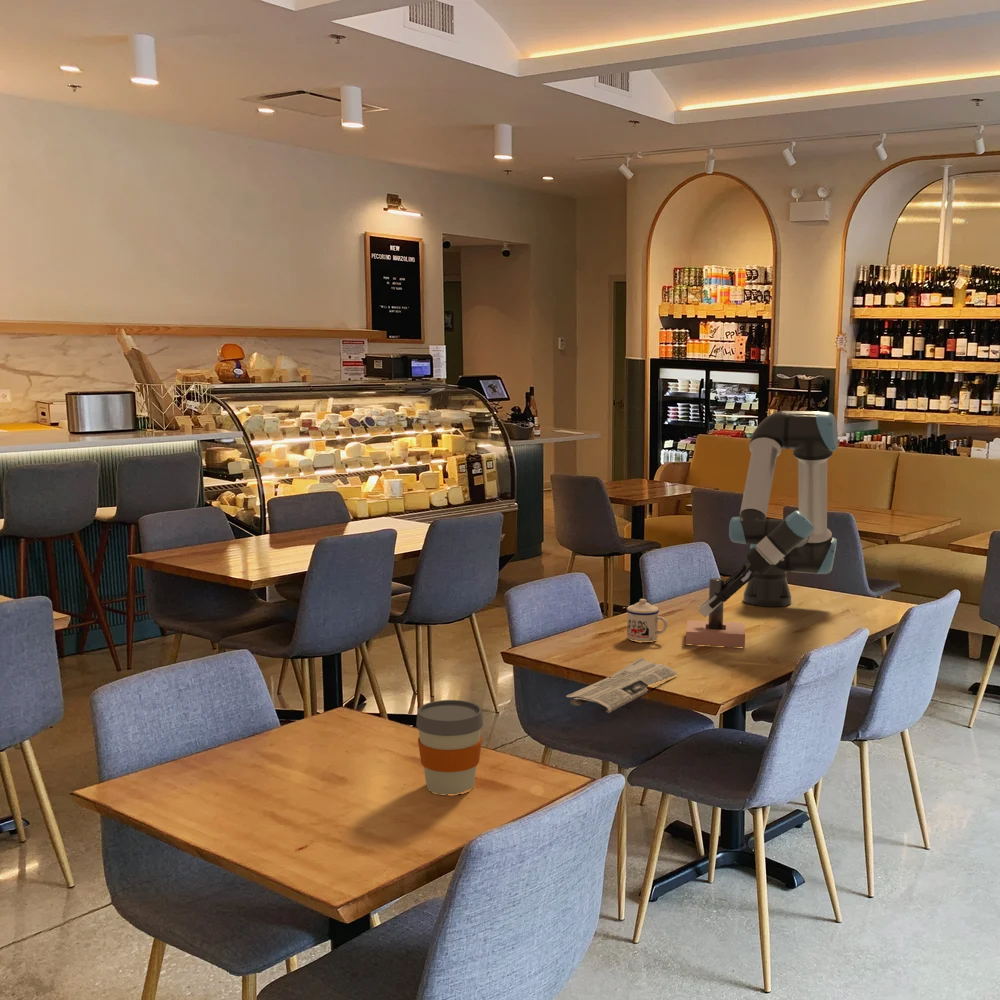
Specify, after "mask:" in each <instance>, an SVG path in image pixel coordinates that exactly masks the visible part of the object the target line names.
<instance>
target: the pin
mask: <svg viewBox="0 0 1000 1000" xmlns="http://www.w3.org/2000/svg"><path fill="white" fill-rule="evenodd" d="M708 581H709V587H708V588H709V591H708V593H709V594H708V598H709V600H710V599H711V598H713V597H714V596H715V592H716V593H717V594H718V593H719V592H720V591H722V590H723V589H724V582H725V578H716V577H713V578H709V580H708ZM707 621H708V629H713V630H722V629H723V622H724V602H722V603H721V604H720V605H719V606H718V607H717V608H716V609H714V610H713V611H712V612H711V613H710V614H709V615H708V620H707Z"/></svg>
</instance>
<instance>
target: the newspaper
mask: <svg viewBox="0 0 1000 1000" xmlns="http://www.w3.org/2000/svg"><path fill="white" fill-rule="evenodd" d="M676 674H677V675H678V673H677V672H676V671H675V670H674V669H673V668H672V667H670V666H668V665H665V664H661V663H655V662H651V661H648V660H646V659H645V658H644V657H642V656H641V657H640V658H637V659H636V660H634V661H633V662H631V663H630V664H627V665H626V666H624V667H622V668H620V670H618V671H615V672H614V673H613V674H611V675H610V676H613V677H611V678H609V676H607V677H606V678H604V679H601V680H598V681H597V682H594V683H593V684H589V685H588V686H585V687H583V688H581V689H579V690H576V691H574V692H572V693H569V694H567V695H566V697H567V698H572V699H571V700H570V704H571V705H572V706H582V705H584V704H586V703H588V702H592V703H596V704H598V705H601V706H603V707H605V708H606V710H605V712H606V713H608V714H610V713H612V712H613V711H616V710H617V709H619V708H621V707H623V706H625V705H626V704H628V703H630V702H632V701H634V700H637V699H638V698H640V697H642V696H643V695H645V694H647V693H648V692H647V691H648V689H647V686H648V685H650V684H653V683H656V682H658V681H662V680H664V679H667V678H669V677H672V676H674V675H676Z"/></svg>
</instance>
